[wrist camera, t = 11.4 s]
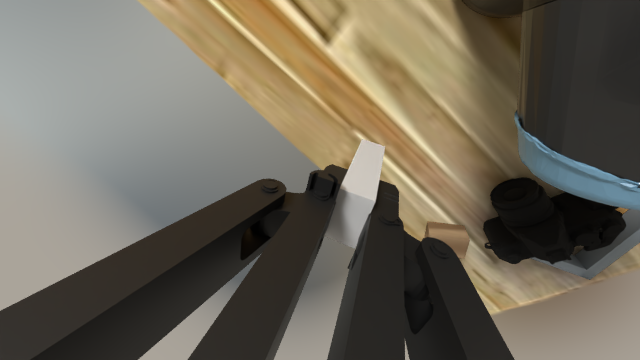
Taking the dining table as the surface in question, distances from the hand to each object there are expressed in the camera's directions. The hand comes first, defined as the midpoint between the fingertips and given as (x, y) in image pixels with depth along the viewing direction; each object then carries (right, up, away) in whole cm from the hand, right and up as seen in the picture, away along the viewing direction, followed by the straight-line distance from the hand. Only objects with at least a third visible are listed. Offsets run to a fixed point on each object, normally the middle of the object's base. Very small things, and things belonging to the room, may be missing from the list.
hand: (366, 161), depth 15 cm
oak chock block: (+20, -11, +28) cm, 36 cm away
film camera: (+29, -5, +22) cm, 36 cm away
